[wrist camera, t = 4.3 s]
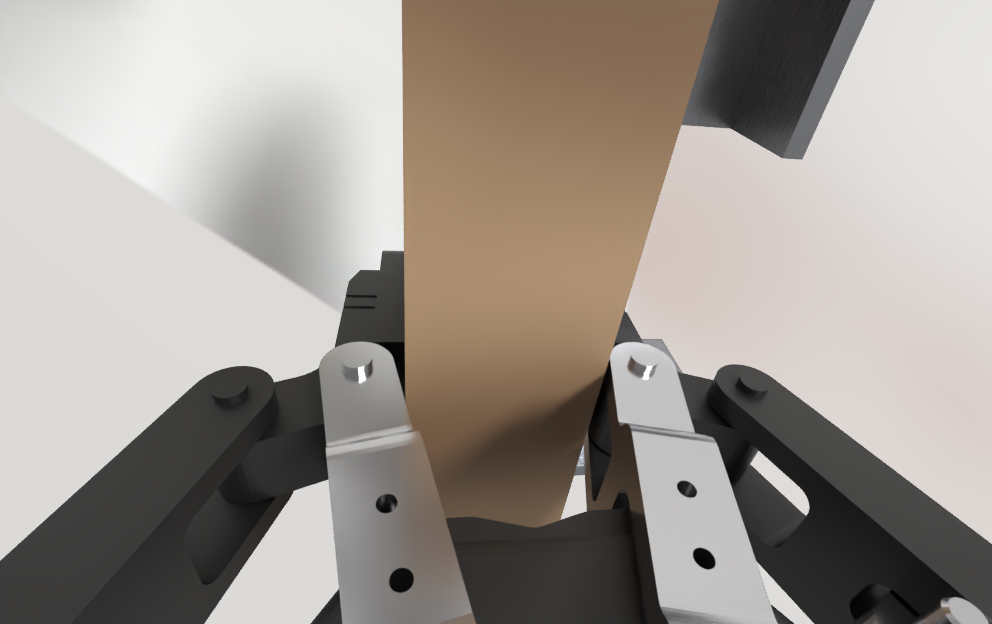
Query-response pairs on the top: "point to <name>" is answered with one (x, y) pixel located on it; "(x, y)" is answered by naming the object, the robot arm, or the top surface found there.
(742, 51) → the bracket stand
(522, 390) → the rail
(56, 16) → the top surface
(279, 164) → the top surface
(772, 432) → the robot arm
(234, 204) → the top surface
